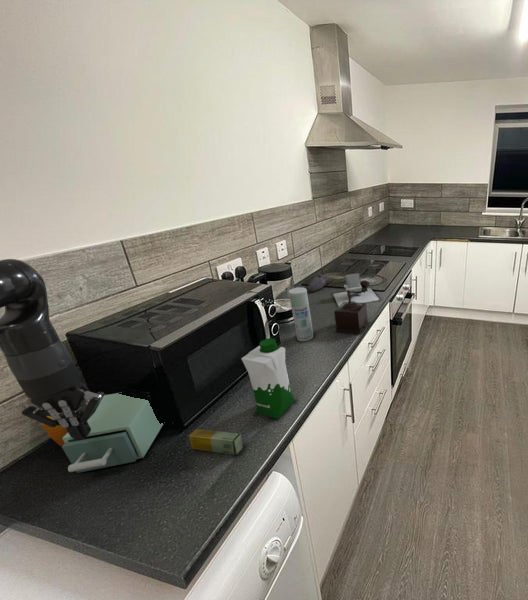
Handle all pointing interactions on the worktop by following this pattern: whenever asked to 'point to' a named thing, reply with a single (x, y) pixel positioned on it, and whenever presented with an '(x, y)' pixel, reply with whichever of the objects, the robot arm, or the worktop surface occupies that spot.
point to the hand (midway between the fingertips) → (83, 436)
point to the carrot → (56, 432)
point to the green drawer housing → (125, 420)
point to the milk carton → (269, 378)
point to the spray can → (301, 313)
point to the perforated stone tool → (316, 283)
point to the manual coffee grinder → (352, 313)
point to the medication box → (216, 441)
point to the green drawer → (100, 451)
